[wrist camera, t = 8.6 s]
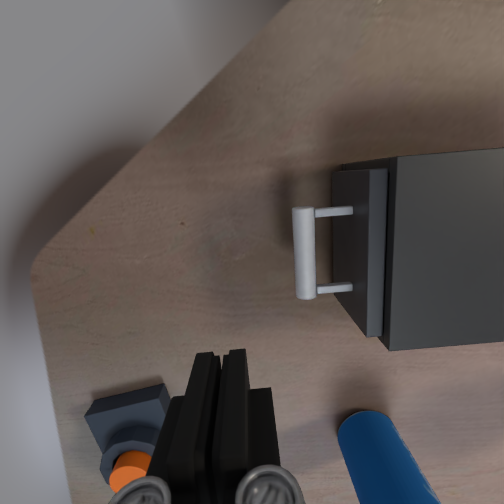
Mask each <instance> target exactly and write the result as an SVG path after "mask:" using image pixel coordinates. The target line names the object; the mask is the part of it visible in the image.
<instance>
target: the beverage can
mask: <svg viewBox="0 0 504 504" xmlns="http://www.w3.org/2000/svg"><path fill="white" fill-rule="evenodd" d="M338 443H339V446H340V448H341V451H342V454H343V457H344V460H345V463H346V465H347V468H348V471H349V474H350V477H351V480H352V482H353V485H354V488H355V491H356V494H357V497H358V499H359V502H360V504H441V503H440V501H439V499H438V498H437V496H436V494H435V493H434V491H433V489H432V488H431V486H430V484H429V483H428V481H427V479H426V478H425V476H424V474H423V473H422V471H421V469H420V468H419V466H418V464H417V463H416V461H415V459H414V458H413V456H412V454H411V453H410V451H409V450H408V448H407V446H406V445H405V443H404V441H403V440H402V438H401V436H400V435H399V433H398V431H397V430H396V428H395V426H394V425H393V423H392V421H391V420H390V419H389V418H388V417H387V416H386V415H384V414H382V413H380V412H377V411H361V412H357V413H354V414H353V415H351V416H350V417H348V418H347V419H346V420H345V421H344V422H343V423H342V425H341V426H340V428H339V431H338Z"/></svg>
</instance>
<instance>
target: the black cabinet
mask: <svg viewBox="0 0 504 504" xmlns="http://www.w3.org/2000/svg"><path fill="white" fill-rule="evenodd" d="M378 168H388V177H389V205H388V232H387V259H386V287H385V307H384V306H383V334H382V336H377V337H378V338H379V340H380V341H381V342H382V343H383V344H384V346H385V347H386V348H387V349H388V350H389V351H399V350H410V349H422V348H434V347H445V346H457V345H468V344H480V343H492V342H503V341H504V148H492V149H480V150H468V151H456V152H444V153H432V154H420V155H408V156H397V157H390V158H383V159H376V160H368V161H361V162H354V163H347V164H342V171H349V170H364V169H378Z"/></svg>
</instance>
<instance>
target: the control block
mask: <svg viewBox="0 0 504 504" xmlns="http://www.w3.org/2000/svg"><path fill="white" fill-rule="evenodd" d="M170 401H171V399H170V397H169V394H168V392H167V389H166V387H165V384H160V385H156V386H152V387H148V388H144V389H140V390H136V391H132V392H127V393H123V394H119V395H115V396H111V397H107V398H103V399H99V400H95V401H94V402H93V404H92V405H91V407H90V408H89V410H88V411H87V413H86V414H85V416H84V417H85V419H86V421H87V423H88V425H89V427H90V429H91V431H92V433H93V435H94V437H95V439H96V441H97V443H98V446H99V448H100V450H101V452H102V454H103V455H102V459H101V465H100V471H101V473H102V475H103V477H104V479H105V481H106V483H107V484H109V485H110V483H109V478H110V475H111V473H112V471H113V468H114V466H115V464H116V462H117V460H118V458H119V457H120V455H122V454H123V453H125V452H127V451H131V450H136V451H141V452H145V453H147V454H148V455H150V456H151V457H152V455H153V452H154V449H155V446H156V443H157V440H158V437H159V434H160V431H161V428H162V425H163V422H164V419H165V416H166V413H167V410H168V407H169V404H170Z"/></svg>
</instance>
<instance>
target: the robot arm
mask: <svg viewBox="0 0 504 504" xmlns="http://www.w3.org/2000/svg"><path fill="white" fill-rule="evenodd" d="M108 504H305V501H304V497H303V494H302V491H301V488H300V486H299V484H298V482H297V480H296V478H295V477H294V476H293V475H292V474H291V473H290V472H289V471H287V470H286V469H284V468H282V467H281V465H280V456H279V448H278V440H277V432H276V424H275V416H274V407H273V399H272V391H271V387H270V388H259V389H250V384H249V375H248V366H247V357H246V349H236V350H230V351H229V355H224V356H223V364H222V369H221V362H220V356H214V353H213V352H204V353H197V354H196V357H195V360H194V364H193V367H192V371H191V375H190V378H189V382H188V385H187V389H186V393H185V396H175V397H173V398H172V399H171V401H170V404H169V407H168V410H167V413H166V416H165V419H164V422H163V425H162V428H161V431H160V434H159V437H158V440H157V443H156V446H155V449H154V452H153V455H152V458H151V461H150V464H149V467H148V470H147V473H146V475H145V476H143V477H140V478H138V479H135V480H132V481H131V482H129V483H128V484H126V485H125V486H123V487H122V488H121V489H120V490H119V491H118V492H117V493H116V494H115V495H114V496H113V497H112V499H111V500H110V502H109V503H108Z"/></svg>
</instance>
